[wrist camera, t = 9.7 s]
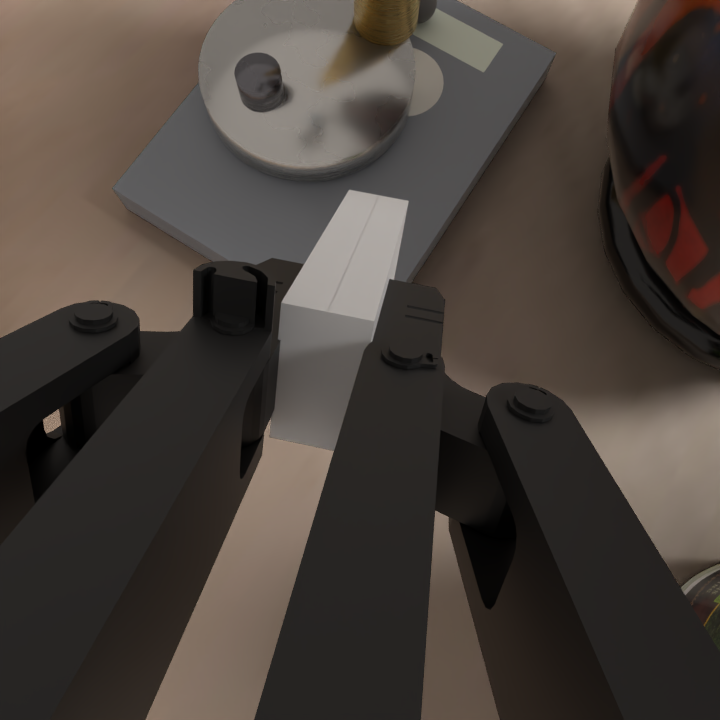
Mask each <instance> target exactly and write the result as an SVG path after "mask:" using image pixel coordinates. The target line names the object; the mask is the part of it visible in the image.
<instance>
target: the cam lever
mask: <svg viewBox="0 0 720 720" xmlns="http://www.w3.org/2000/svg"><path fill="white" fill-rule="evenodd" d="M419 6H420V0H236V1H234V2H233V3H232V4H230V5H229V6H228V7H227V8H226V9H225V10H224V11H223V12H222V13H221V14H220V15H219V17H218V18H217V19H216V20H215V22H214V23H213V25H212V26H211V28H210V30H209V31H208V33H207V35H206V38H205V40H204V42H203V45H202V48H201V52H200V56H199V65H198V76H199V85H200V90H201V94H202V97H203V100H204V102H205V105H206V108H207V111H208V114H209V116H210V119H211V122H212V124H213V127H214V129H215V130H216V132H217V134H218V136H219V138H220V139H221V140H222V141H223V143H224V144H225V145H226V147H227V148H228V149H229V150H230V151H231V152H232V153H233V154H234V155H235V156H236V157H238V158H239V159H240V160H242V161H243V162H244V163H246V164H247V165H249V166H251V167H252V168H254V169H256V170H258V171H260V172H263V173H265V174H267V175H270V176H273V177H277V178H280V179H284V180H291V181H298V182H316V181H327V180H331V179H336V178H340V177H343V176H346V175H349V174H352V173H354V172H356V171H358V170H360V169H362V168H365V167H366V166H368V165H369V164H371V163H372V162H374V161H375V160H377V159H378V158H379V157H380V156H381V155H383V154H384V153H385V152H386V151H387V150H388V149H389V148H390V147H391V145H392V144H393V143H394V142H395V141H396V139H397V138H398V136H399V135H400V133H401V132H402V130H403V128H404V125H405V123H406V121H407V118H408V115H409V112H410V108H411V102H412V95H413V88H414V81H415V57H414V51H413V48H412V44H411V41H410V39H409V37H410V36H411V35H412V34H413V33H414V31H415V29H416V26H417V21H418V14H419Z"/></svg>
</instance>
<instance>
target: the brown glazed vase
mask: <svg viewBox="0 0 720 720" xmlns="http://www.w3.org/2000/svg"><path fill="white" fill-rule="evenodd" d="M606 142H607V147H608V153H609V158H608V160H607V162H606V165H605V167H604V169H603V172H602V176H601V185H600V195H599V204H598V216H599V222H600V227H601V233H602V239H603V244H604V250H605V254H606V256H607V258H608V260H609V262H610V264H611V266H612V269H613V271H614V273H615V275H616V277H617V279H618V281H619V283H620V286H621V288H622V290H623V292H624V293H625V295H626V296H627V297H628V298H629V299H630V301H631V302H632V303H633V304H634V306H635V307H636V308H637V309H638V310H639V312H640V313H641V314H642V315H643V316H644V318H645V319H646V320H647V321H648V323H649V324H650V325H651V326H652V327H653V328H654V329H655V330H656V331H657V332H659V333H660V334H661V335H663V336H664V337H665V338H667V339H668V340H669V341H671V342H672V343H673V344H674V345H676V346H677V347H678V348H680V349H681V350H682V351H684V352H685V353H686V354H688V355H689V356H690V357H692V358H694V359H696V360H698V361H700V362H702V363H705V364H707V365H709V366H711V367H714V368H716V369H718V370H720V0H638V1H637V3H636V5H635V8H634V10H633V12H632V14H631V16H630V19H629V21H628V23H627V25H626V27H625V29H624V32H623V34H622V36H621V38H620V40H619V42H618V45H617V47H616V49H615V56H614V66H613V75H612V85H611V94H610V104H609V113H608V125H607V136H606Z"/></svg>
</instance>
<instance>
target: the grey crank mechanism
mask: <svg viewBox="0 0 720 720" xmlns="http://www.w3.org/2000/svg"><path fill="white" fill-rule="evenodd" d="M409 39H410V41H411V44H412V48H413V51H414V57H415V81H414V88H413V95H412V102H411V108H410V112H409V115H408V118H407V121H406V123H405V125H404V128H403V130H402V132H401V133H400V135H399V136H398V138H397V139H396V141H395V142H394V143H393V144H392V145H391V147H390V148H389V149H388V150H387V151H386V152H385V153H384V154H383V155H381V156H380V157H379V158H378V159H377V160H375V161H374V162H372V163H371V164H369V165H368V166H366V167H365V168H362V169H360V170H358V171H356V172H354V173H352V174H349V175H346V176H343V177H340V178H336V179H331V180H327V181H316V182H298V181H291V180H284V179H280V178H277V177H273V176H270V175H267V174H265V173H263V172H260V171H258V170H256V169H254V168H252V167H251V166H249V165H247V164H246V163H244V162H243V161H242V160H240V159H239V158H238V157H236V156H235V155H234V154H233V153H232V152H231V151H230V150H229V149H228V148H227V147H226V145H225V144H224V143H223V141H222V140H221V139H220V138H219V136H218V134H217V132H216V130H215V129H214V127H213V124H212V122H211V119H210V116H209V114H208V111H207V108H206V105H205V102H204V100H203V97H202V94H201V90H200V85H199V83H198V84H197V85H196V86H195V87H194V89H193V90H192V91H191V92H190V94H189V95H188V96H187V97H186V98H185V100H184V101H183V102H182V103H181V105H180V106H179V107H178V108H177V109H176V111H175V112H174V113H173V114H172V116H171V117H170V118H169V119H168V121H167V122H166V123H165V124H164V125H163V127H162V128H161V129H160V130H159V132H158V133H157V134H156V135H155V136H154V138H153V139H152V140H151V141H150V143H149V144H148V145H147V146H146V147H145V149H144V150H143V151H142V152H141V154H140V155H139V156H138V157H137V158H136V160H135V161H134V162H133V163H132V165H131V166H130V167H129V168H128V169H127V171H126V172H125V173H124V174H123V176H122V177H121V178H120V179H119V180H118V182H117V183H116V184H115V185H114V187H113V188H112V189H113V190H114V192H115V193H116V194H117V196H118V197H119V198H120V200H121V201H122V203H123V204H124V205H125V207H126V208H127V209H128V210H130V211H132V212H133V213H135V214H136V215H138V216H140V217H141V218H143V219H144V220H146V221H148V222H149V223H151V224H153V225H154V226H156V227H157V228H159V229H161V230H162V231H164V232H165V233H167V234H169V235H170V236H172V237H174V238H175V239H177V240H178V241H180V242H182V243H183V244H185V245H186V246H188V247H190V248H191V249H193V250H195V251H196V252H198V253H199V254H201V255H203V256H204V257H206V258H207V259H209V260H211V261H212V262H215V261H240V262H247V263H251V264H254V265H257V264H259V263H262V262H264V261H266V260H268V259H271V258H276V259H281V260H286V261H291V262H296V263H301V264H305V262H306V261H307V259H308V257H309V256H310V254H311V252H312V251H313V249H314V247H315V246H316V244H317V242H318V241H319V239H320V237H321V236H322V234H323V232H324V231H325V229H326V227H327V226H328V224H329V222H330V221H331V219H332V217H333V216H334V214H335V212H336V211H337V209H338V207H339V206H340V204H341V202H342V201H343V199H344V197H345V196H346V194H347V192H348V191H349V190H354V191H359V192H364V193H370V194H375V195H380V196H385V197H391V198H396V199H401V200H407V201H409V202H408V207H407V213H406V218H405V223H404V229H403V234H402V239H401V245H400V250H399V255H398V261H397V266H396V271H395V276H394V280H398V281H403V282H408V283H412V281H413V279H414V278H415V276H416V275H417V273H418V272H419V270H420V269H421V267H422V266H423V264H424V263H425V261H426V260H427V258H428V257H429V255H430V254H431V252H432V251H433V249H434V248H435V246H436V244H437V243H438V241H439V240H440V238H441V237H442V235H443V234H444V232H445V231H446V229H447V228H448V226H449V225H450V223H451V222H452V220H453V219H454V217H455V216H456V214H457V212H458V211H459V209H460V208H461V206H462V205H463V203H464V202H465V200H466V199H467V197H468V196H469V194H470V193H471V191H472V190H473V188H474V187H475V185H476V184H477V182H478V180H479V179H480V177H481V176H482V174H483V173H484V171H485V170H486V168H487V167H488V165H489V164H490V162H491V161H492V159H493V158H494V156H495V155H496V153H497V152H498V150H499V148H500V147H501V145H502V144H503V142H504V141H505V139H506V138H507V136H508V135H509V133H510V132H511V130H512V129H513V127H514V126H515V124H516V123H517V121H518V120H519V118H520V116H521V115H522V113H523V112H524V110H525V109H526V107H527V106H528V104H529V103H530V101H531V100H532V98H533V97H534V95H535V94H536V92H537V91H538V89H539V88H540V86H541V85H542V83H543V81H544V80H545V78H546V75H547V73H548V71H549V69H550V66H551V64H552V62H553V60H554V57H555V55H556V53H555V52H554V51H552V50H550V49H548V48H546V47H544V46H542V45H540V44H538V43H536V42H535V41H533V40H531V39H529V38H527V37H525V36H523V35H521V34H519V33H518V32H516V31H514V30H512V29H510V28H508V27H506V26H504V25H502V24H500V23H499V22H497V21H495V20H493V19H491V18H489V17H487V16H485V15H483V14H482V13H480V12H478V11H476V10H474V9H472V8H470V7H468V6H466V5H464V4H463V3H461V2H459V1H457V0H420V6H419V14H418V21H417V26H416V29H415V31H414V33H413V34H412V35H411V36H410V37H409Z"/></svg>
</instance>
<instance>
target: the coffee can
mask: <svg viewBox="0 0 720 720" xmlns="http://www.w3.org/2000/svg"><path fill="white" fill-rule="evenodd" d="M681 589H682V591H683V593H684V594H685V596H686V598H687V599H688V601H689V602H690V604H691V606H692V607H693V609H694V611H695V612H696V614H697V615H698V617H699V619H700V620H701V622H702V624H703V625H704V627H705V628H706V630H707V632H708V633H709V635H710V637H711V638H712V640H713V641H714V643H715V645H716V646H717V648H718V650H719V651H720V564H717V565H715V566H713V567H711V568H708V569H706V570H704V571H702V572H701V573H699V574H697V575H696V576H694V577H693V578H691V579H690V580H689V581H688V582H687V583H685V584H684V585H683V586H682V587H681Z"/></svg>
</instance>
